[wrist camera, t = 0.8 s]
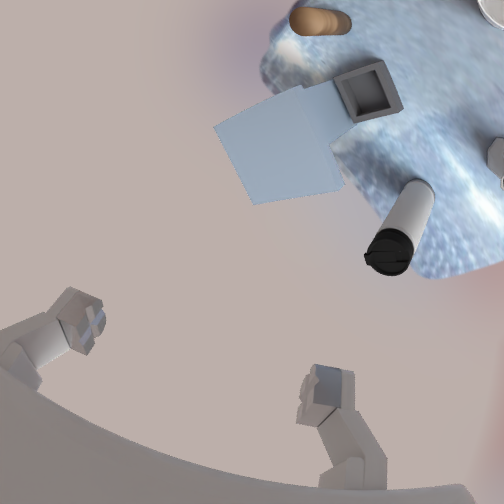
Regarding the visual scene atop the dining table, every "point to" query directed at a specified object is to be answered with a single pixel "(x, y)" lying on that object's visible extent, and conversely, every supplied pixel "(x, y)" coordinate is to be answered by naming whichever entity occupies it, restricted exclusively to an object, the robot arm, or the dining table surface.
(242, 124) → the awning
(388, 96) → the socket
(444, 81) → the dining table surface
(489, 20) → the white cup
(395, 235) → the travel mug
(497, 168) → the flask
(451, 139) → the dining table surface
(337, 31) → the peg
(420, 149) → the dining table surface
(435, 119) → the dining table surface
